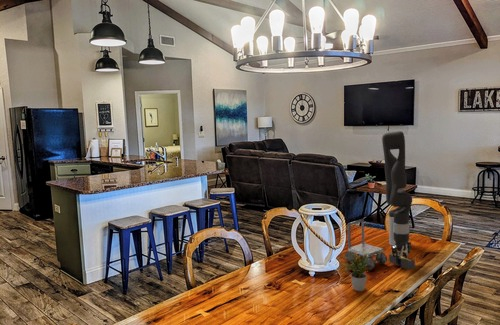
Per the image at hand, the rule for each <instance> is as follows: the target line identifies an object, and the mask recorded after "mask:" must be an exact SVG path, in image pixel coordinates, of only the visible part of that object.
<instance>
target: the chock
mask: <svg viewBox="0 0 500 325" xmlns="http://www.w3.org/2000/svg"><path fill="white" fill-rule="evenodd" d="M402 255H403V254H401V257H400V258H401V265H397V264H396V258H395V257H393V254H392V253H389V254H388V262H390V263H391V264H394V265H396V266H398V267H401V268H403V269H406V270H409V271H410V270H412V269H415V267H416V265H415V264H416V260H415V259H413V258H410V257H408V256H407V257H405V256H402ZM398 256H399V253H398Z"/></svg>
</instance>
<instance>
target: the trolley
mask: <svg viewBox="0 0 500 325" xmlns="http://www.w3.org/2000/svg"><path fill="white" fill-rule="evenodd" d="M358 223H360V224H361V243H359V244H356V245H353V246H352V241H351V239H352V237H351V236H352V233H351V232H352V231H351V225H355V224H358ZM347 248H348V250H347V251H346V252H345V254H344V256H345V258H344V259H345V261H347V262H348V263H349V264H352V263H351V262H352V261H353V262H354V263H355V261H354V259H353V254H352V252H353V253H354V255H355V257H356V255H357V256H359V255H360V259H361V258H362V256H363V255H365V254H366V253H368V254H367V256H368V257H367V256H366V257H365V259H366V258H367V260H368V259H369V260H368V261H367V260H366V261H365V259H364V261H365V263H366V262H368V263H367V264H366V266H365V267H367V268H366V269H367V270H373V269H374V268H375V265H376V263H375V262H377V263H378V264H379V265H384V264H386V263H388V256H387V255H386V253H384V248H381V247H379V246H374V245H370V244H367V243H365V219H364V218H361V219H358V220H354V221H351V222H348V223H347ZM373 256H375V259H374V258H373ZM346 257H348V258H350V259H351V260H352V261H351V260H350V259H348V258H346ZM356 258H357V257H356ZM363 263H364V262H363ZM365 263H364V265H365Z"/></svg>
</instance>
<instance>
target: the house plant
mask: <svg viewBox="0 0 500 325" xmlns="http://www.w3.org/2000/svg"><path fill="white" fill-rule="evenodd" d="M352 254H353V259H354V261H355V262H353V261H352V260H351V259H350V258H348V257H346V258H348V259H350V260H351V261H352V262H351V263H350V264H347V263H340V264H341V265H343V266H344V267H345V268H344V271H343V272H345V271H348V270H350V271H351V272H352V273H350V279H351V285H352V289H353V290H354V291H357V292H362V291H365V290H366V283H367V274H366V273H364V272H366V271H367V270H368V269H367V267H365V266H366V264H367V263H368V262H366V263H365V261H366V260H367V258H366V259H365V257H366V256H367V254H368V253H366V254H365V255H363V256H362V258H360V255H356V257H355V255H354V254H355V253H353V252H352ZM342 257H343V258H344V257H345V255H342ZM367 257H368V256H367ZM346 258H345V259H346ZM364 259H365V261H364ZM368 260H369V259H368ZM368 260H367V261H368ZM363 262H364V263H365V265H364V263H363Z"/></svg>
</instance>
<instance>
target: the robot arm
mask: <svg viewBox="0 0 500 325" xmlns="http://www.w3.org/2000/svg"><path fill="white" fill-rule="evenodd" d="M405 138H406V137H405V134H404V132H403V131H389V132H384V133H383V134H382V136H381V140H382V141H381V142H382V150H383V158H384V174H385V201H386V203H387V204H388V205H390V206H391V207H394V208H395V209H391V210H389V212H388V236H389V238H388V239H389V240H388V242H389V245H390V246H391V248H390V249H391V254H393V257H395V258H396V264H397V265H396V264H395V265H396V266H398V265H401V258H400V257H401V255H402V256H405V257H407V258H408V255H409V254H411V247H412V242H411V241H410V225H409V220H410V219H409V217H410V216H409V215H410V210H411V207H412V205H413V197H412V195H411V194H410V193H409V192H406V191H405V189H404V188H406V187H407V183H408V182H407V176H406V139H405ZM391 150H392V151H393V150H398V154H397V157H396V156H395V155H394V154H393V153H392V152H391ZM398 254H399V256H398Z"/></svg>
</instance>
